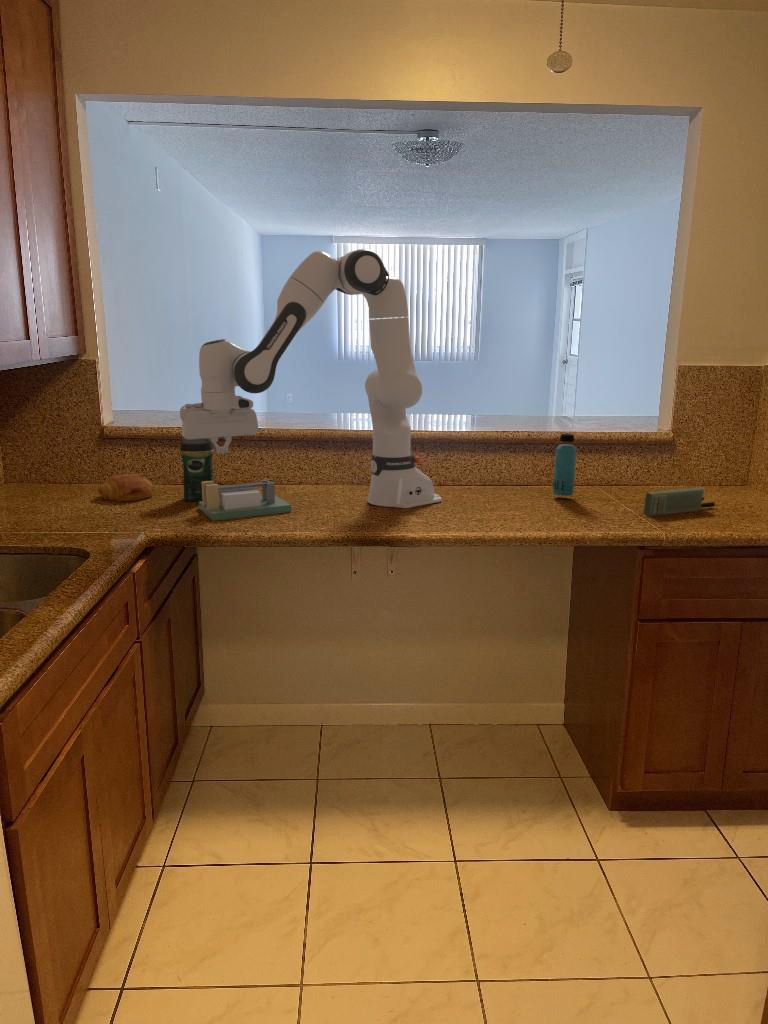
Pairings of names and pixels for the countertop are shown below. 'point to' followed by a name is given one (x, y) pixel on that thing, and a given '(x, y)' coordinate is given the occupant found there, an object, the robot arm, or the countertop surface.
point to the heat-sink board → (240, 502)
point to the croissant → (126, 488)
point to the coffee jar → (196, 466)
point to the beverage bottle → (564, 467)
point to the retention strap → (243, 485)
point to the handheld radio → (675, 501)
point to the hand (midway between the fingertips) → (222, 453)
